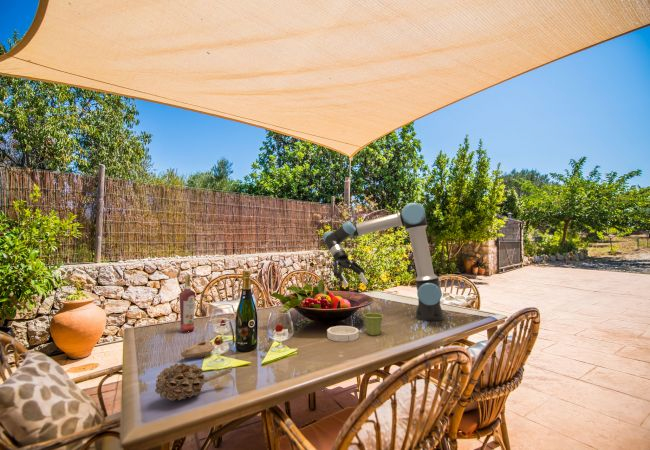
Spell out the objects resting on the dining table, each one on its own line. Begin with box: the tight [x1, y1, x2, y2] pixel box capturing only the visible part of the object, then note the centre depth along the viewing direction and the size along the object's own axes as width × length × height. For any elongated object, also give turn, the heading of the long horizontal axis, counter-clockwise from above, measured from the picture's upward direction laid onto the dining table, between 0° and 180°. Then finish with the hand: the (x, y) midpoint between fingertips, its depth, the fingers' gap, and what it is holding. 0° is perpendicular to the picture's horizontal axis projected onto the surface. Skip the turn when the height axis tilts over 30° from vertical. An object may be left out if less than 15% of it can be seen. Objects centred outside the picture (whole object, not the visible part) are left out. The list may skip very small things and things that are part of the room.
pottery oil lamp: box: [180, 340, 215, 359], centre depth 123 cm, size 9×12×7 cm
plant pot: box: [363, 312, 384, 336], centre depth 151 cm, size 9×9×9 cm
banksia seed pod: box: [154, 362, 235, 402], centre depth 93 cm, size 22×10×10 cm, turn 128°
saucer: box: [326, 325, 360, 343], centre depth 146 cm, size 14×14×3 cm
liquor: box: [179, 274, 196, 333], centre depth 158 cm, size 7×7×28 cm
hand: (356, 284), depth 165 cm, fingers open, 13 cm apart
